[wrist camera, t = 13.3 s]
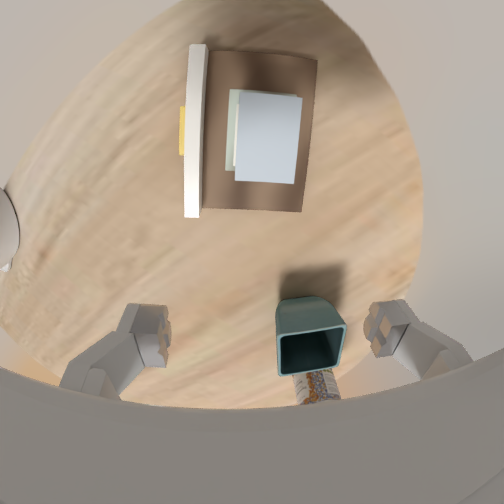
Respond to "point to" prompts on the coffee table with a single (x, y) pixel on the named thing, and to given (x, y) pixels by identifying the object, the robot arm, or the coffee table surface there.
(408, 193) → the coffee table surface
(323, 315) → the flower pot
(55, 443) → the robot arm
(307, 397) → the bath foam
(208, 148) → the shelf board
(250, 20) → the coffee table surface
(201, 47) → the price rail
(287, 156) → the product carton
